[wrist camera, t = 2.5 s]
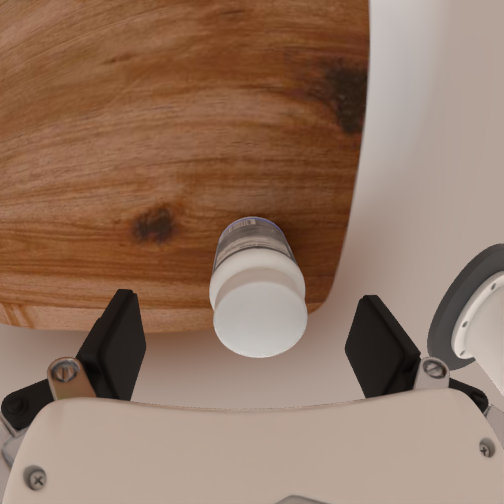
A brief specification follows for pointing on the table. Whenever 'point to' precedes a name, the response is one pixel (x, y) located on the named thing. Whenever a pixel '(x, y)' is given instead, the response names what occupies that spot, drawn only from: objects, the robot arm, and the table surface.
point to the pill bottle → (257, 290)
